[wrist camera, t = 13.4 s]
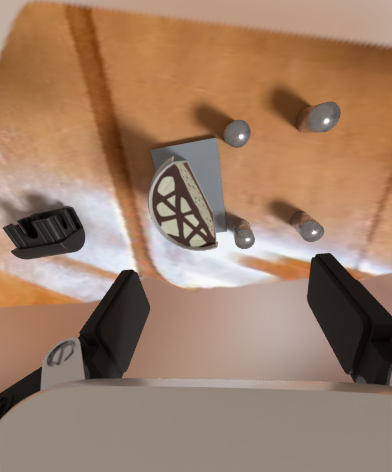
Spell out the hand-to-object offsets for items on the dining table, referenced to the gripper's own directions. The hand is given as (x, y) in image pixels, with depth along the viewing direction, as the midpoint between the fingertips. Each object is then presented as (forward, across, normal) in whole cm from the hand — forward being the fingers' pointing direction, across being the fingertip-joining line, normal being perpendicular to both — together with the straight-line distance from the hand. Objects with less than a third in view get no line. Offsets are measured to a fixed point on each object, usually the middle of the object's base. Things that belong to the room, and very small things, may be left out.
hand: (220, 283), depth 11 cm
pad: (+24, +4, +1) cm, 24 cm away
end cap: (+24, +31, +4) cm, 39 cm away
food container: (+23, +6, +1) cm, 24 cm away
